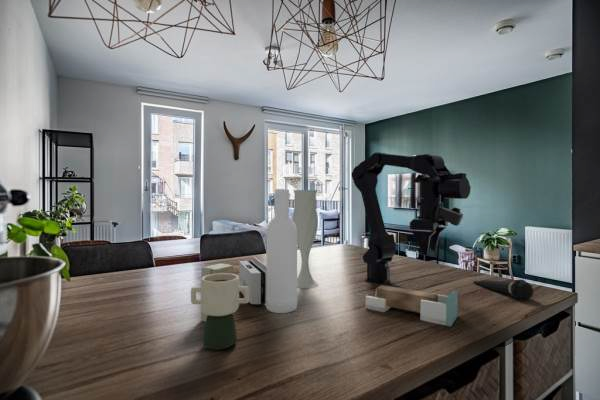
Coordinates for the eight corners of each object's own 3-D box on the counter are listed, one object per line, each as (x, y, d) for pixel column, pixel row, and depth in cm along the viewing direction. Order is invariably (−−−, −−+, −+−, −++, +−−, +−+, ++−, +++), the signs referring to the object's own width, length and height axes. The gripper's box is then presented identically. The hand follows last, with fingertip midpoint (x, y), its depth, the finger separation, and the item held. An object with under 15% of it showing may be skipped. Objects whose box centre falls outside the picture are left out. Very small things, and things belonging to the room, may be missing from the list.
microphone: (470, 293, 109) (526, 305, 89) (464, 276, 109) (519, 285, 90) (483, 287, 110) (541, 297, 91) (477, 270, 110) (533, 277, 91)
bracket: (238, 291, 100) (238, 257, 100) (254, 289, 102) (254, 256, 102) (251, 309, 85) (251, 269, 84) (269, 306, 86) (269, 267, 86)
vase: (286, 286, 105) (287, 190, 104) (297, 280, 113) (297, 190, 112) (313, 289, 102) (313, 190, 101) (322, 282, 109) (322, 190, 109)
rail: (376, 303, 85) (376, 288, 85) (381, 300, 88) (381, 285, 88) (434, 315, 77) (434, 298, 77) (437, 311, 80) (437, 294, 80)
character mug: (250, 336, 68) (250, 272, 68) (247, 353, 61) (247, 281, 61) (195, 338, 67) (195, 273, 67) (185, 355, 60) (185, 282, 60)
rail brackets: (365, 308, 85) (365, 284, 85) (376, 300, 91) (377, 278, 91) (450, 326, 73) (451, 299, 73) (457, 316, 80) (457, 291, 79)
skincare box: (213, 325, 74) (213, 269, 74) (200, 321, 76) (199, 267, 76) (234, 316, 79) (234, 264, 79) (220, 312, 82) (220, 262, 81)
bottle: (298, 303, 89) (299, 189, 88) (295, 314, 81) (296, 188, 80) (268, 302, 89) (268, 189, 89) (263, 313, 81) (263, 188, 81)
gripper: (454, 199, 84) (453, 261, 84) (466, 198, 100) (465, 251, 100) (409, 198, 91) (408, 256, 91) (427, 198, 106) (426, 247, 106)
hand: (429, 252), depth 97 cm, fingers open, 9 cm apart
